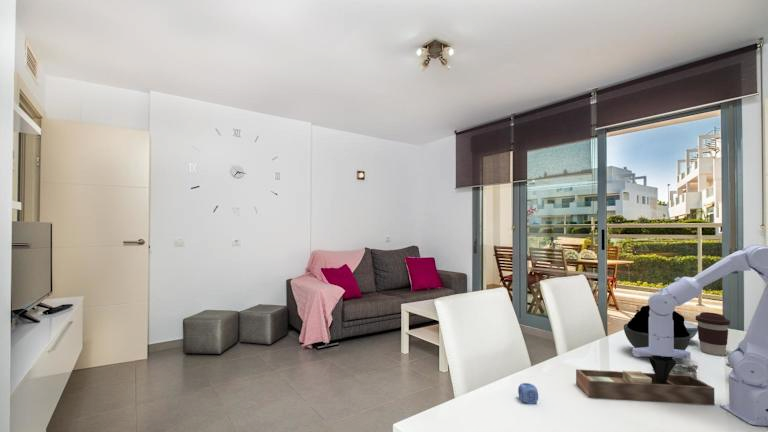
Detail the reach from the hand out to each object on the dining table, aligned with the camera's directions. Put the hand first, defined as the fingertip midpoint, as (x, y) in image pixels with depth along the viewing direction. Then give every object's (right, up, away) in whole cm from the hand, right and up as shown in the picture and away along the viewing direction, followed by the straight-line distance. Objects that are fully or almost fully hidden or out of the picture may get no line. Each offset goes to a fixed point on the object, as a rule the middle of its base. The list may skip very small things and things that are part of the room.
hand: (661, 382), depth 102 cm
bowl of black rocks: (+22, -5, +31) cm, 38 cm away
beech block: (-7, -1, +1) cm, 7 cm away
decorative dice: (-40, -3, -5) cm, 41 cm away
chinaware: (+46, -6, +51) cm, 69 cm away
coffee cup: (+49, -6, +37) cm, 61 cm away
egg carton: (+16, -5, +15) cm, 23 cm away
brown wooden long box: (-5, -4, 0) cm, 6 cm away
